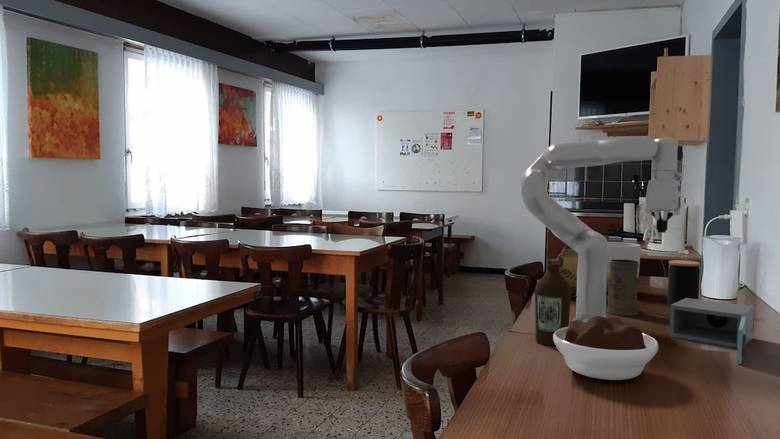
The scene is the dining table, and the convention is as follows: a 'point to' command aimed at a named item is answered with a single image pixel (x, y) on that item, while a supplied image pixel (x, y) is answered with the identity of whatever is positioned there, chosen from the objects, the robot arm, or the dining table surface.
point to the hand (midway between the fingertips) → (661, 232)
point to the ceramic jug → (569, 267)
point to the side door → (741, 340)
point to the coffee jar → (683, 280)
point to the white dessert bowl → (605, 348)
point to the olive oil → (551, 304)
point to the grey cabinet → (710, 321)
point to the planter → (622, 254)
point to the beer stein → (623, 287)
